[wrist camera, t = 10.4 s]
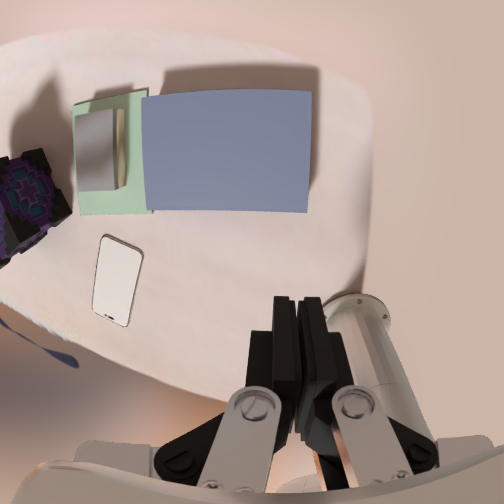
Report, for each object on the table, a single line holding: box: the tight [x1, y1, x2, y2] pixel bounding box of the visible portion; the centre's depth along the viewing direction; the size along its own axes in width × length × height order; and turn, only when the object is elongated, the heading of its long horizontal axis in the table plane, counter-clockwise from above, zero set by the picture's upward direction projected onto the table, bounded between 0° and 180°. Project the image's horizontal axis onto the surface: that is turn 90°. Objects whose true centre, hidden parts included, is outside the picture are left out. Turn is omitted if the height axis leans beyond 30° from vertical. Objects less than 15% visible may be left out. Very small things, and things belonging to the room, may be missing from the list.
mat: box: [72, 90, 153, 215], centre depth 32 cm, size 16×12×1 cm
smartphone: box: [92, 235, 144, 327], centre depth 40 cm, size 7×1×15 cm
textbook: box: [141, 89, 312, 213], centre depth 30 cm, size 13×18×4 cm
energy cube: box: [0, 148, 72, 269], centre depth 30 cm, size 12×12×12 cm
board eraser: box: [75, 109, 126, 192], centre depth 30 cm, size 10×6×3 cm, turn 178°
